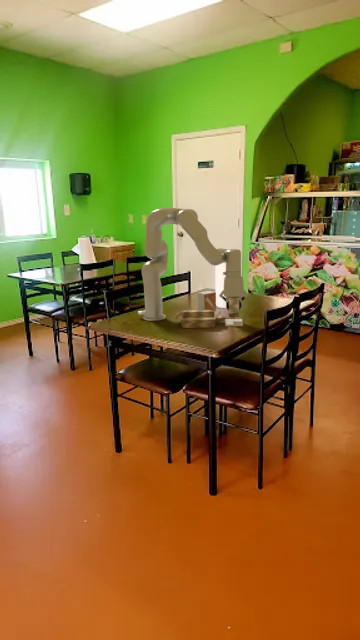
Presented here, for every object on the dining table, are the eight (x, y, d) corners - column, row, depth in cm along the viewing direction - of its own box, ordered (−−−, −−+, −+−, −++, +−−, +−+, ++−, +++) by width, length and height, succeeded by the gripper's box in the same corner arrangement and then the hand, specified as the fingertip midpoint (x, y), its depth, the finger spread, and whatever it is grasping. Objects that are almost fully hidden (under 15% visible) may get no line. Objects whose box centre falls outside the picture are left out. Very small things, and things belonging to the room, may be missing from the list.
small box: (204, 317, 239) (204, 294, 236) (197, 315, 244) (197, 292, 241) (216, 315, 243) (216, 292, 240) (209, 312, 248) (209, 290, 245)
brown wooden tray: (175, 329, 218) (174, 319, 217) (178, 319, 237) (177, 310, 235) (221, 328, 216) (221, 319, 215) (220, 318, 235) (220, 309, 234)
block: (229, 317, 221) (228, 297, 219) (228, 314, 227) (228, 295, 224) (239, 316, 221) (239, 297, 218) (238, 314, 227) (238, 295, 224)
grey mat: (225, 326, 221) (225, 324, 220) (224, 321, 230) (224, 319, 230) (243, 326, 220) (243, 324, 220) (241, 320, 230) (241, 318, 229)
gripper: (216, 275, 216) (217, 311, 220) (251, 274, 214) (251, 310, 219) (216, 273, 223) (217, 308, 228) (250, 272, 221) (250, 307, 226)
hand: (233, 309), depth 223 cm, fingers closed on block, 5 cm apart
